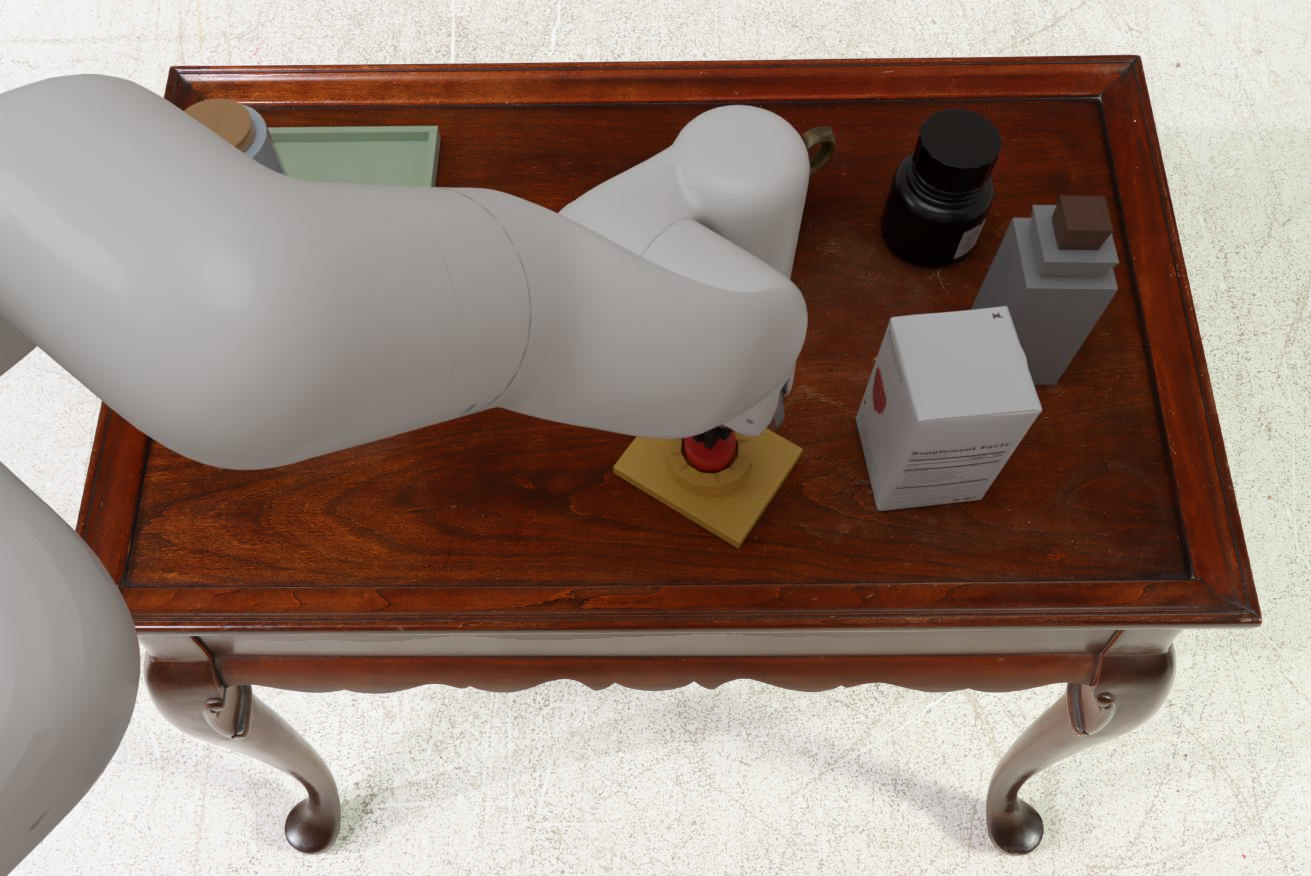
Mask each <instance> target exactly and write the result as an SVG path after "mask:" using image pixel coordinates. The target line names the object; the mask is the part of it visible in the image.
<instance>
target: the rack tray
mask: <svg viewBox="0 0 1311 876" xmlns="http://www.w3.org/2000/svg"><path fill="white" fill-rule="evenodd" d="M267 128H268V130H269V132H270V135H271V137H272V139H273V141H274V144H275V146H276V148H277V150H278V153H279V155H280V157H281V159H282V162H283V164H284V166H285V169H286V171H287V173H288V175H289V176H290V177H293V178H296V179H300V180H305V181H311V182H335V183H355V184H368V185H394V186H420V187H436V183H437V175H438V166H439V157H440V150H441V149H440V148H441V139H442V137H441V134H440V129H439V126H438V125H395V126H394V125H389V126H387V125H385V126H383V125H382V126H380V125H379V126H289V127H288V126H287V127H286V126H285V127H284V126H279V127H278V126H277V127H276V126H275V127H271V126H270V127H268V126H267Z"/></svg>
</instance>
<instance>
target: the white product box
mask: <svg viewBox="0 0 1311 876" xmlns="http://www.w3.org/2000/svg"><path fill="white" fill-rule="evenodd" d="M877 353H878V354H877V356H876V359H875V362H874V365H873V367H872V371H871V374H870V376H869V379H868V382H867V385H866V388H865V391H864V394H863V396H862V399H861V402H860V405H859V408H858V411H857V413H856V416H855V422H856V426H857V431H858V435H859V439H860V443H861V448H862V453H863V455H864V456H863V457H864V460H865V465H866V470H867V473H868V477H869V482H870V486H871V490H872V495H873V499H874V503H875V508H876V510H877V511H879V512H885V511H894V510H904V509H913V508H920V507H930V506H938V505H947V504H954V503H955V504H956V503H965V502H973V501H981V500H982V499H984V496H985V495H986V494H987V492H988V491H989V489H990V488H991V486H992V485H993V483H994V482H995V480H996V479H997V477H998V476H999V474H1000V473H1001V471H1002V469H1004V467H1005V466H1006V464H1007V462H1008V461H1009V459H1010V457H1011V456H1012V455H1013V453H1014V452H1015V451H1016V450H1017V447H1018V446H1019V444H1020V443H1021V441H1022V440H1023V438H1024V437H1025V436H1026V435H1027V433H1028V431H1029V430H1030V428H1031V427H1032V425H1033V424H1034V422H1035V421H1036V419H1037V418H1038V417H1039V415H1040V414H1041V413H1042V411H1043V407H1042V404H1041V401H1040V399H1039V396H1038V392H1037V390H1036V387H1035V386H1036V385H1034V383H1033V381H1032V378H1031V375H1030V372H1029V369H1028V366H1027V359H1026V356H1025V353H1024V351H1023V349H1022V347H1021V345H1020V342H1019V339H1018V336H1017V333H1016V330H1015V327H1014V324H1013V321H1012V318H1011V315H1010V312H1009V309H1008V307H1007V306H1002V307H994V308H984V309H975V310H971V309H967V310H966V309H965V310H955V311H945V312H933V313H932V312H931V313H919V314H918V313H917V314H909V315H908V314H907V315H901V316H892V317H890V319H889V322H888V324H887V328H886V330H885V333H884V337H883V339H882V341H881V344H880V347H879V350H878V352H877Z"/></svg>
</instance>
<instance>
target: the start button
mask: <svg viewBox="0 0 1311 876" xmlns="http://www.w3.org/2000/svg"><path fill="white" fill-rule="evenodd" d="M735 446H736V435H735V433H734V431H732V433H731V434H730V436H729V437H728V438H727V440H726V441H724V440H722V439H720V438H719V440H718V441H717V443H716V444H715V445H714V447H713V448H712V449H711V450H710V449H708V448H706V447H705V445H704V444H703V442H702V443H701V442H700V443H698V442H696V441H694V440H693V436H690V437H686V438H685V455H686V457H687V459H688V461H689V462H690V463H691V464H692V465H693V466H694V467H696V468H697V469H700V470H702V471H708V472H713V471H718V470H721V469H723V468H725V467H726V466H727V465H728V464H729V463H730V462H731V461H732V459H733V457H734V453H735Z"/></svg>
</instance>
